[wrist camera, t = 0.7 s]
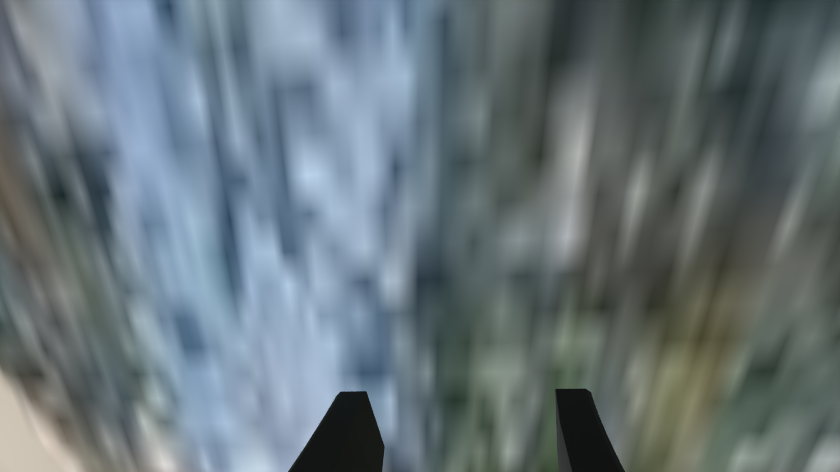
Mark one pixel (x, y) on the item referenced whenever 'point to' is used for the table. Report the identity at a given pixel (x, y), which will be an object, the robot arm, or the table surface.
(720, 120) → the table surface
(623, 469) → the robot arm
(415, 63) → the table surface
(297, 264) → the table surface
